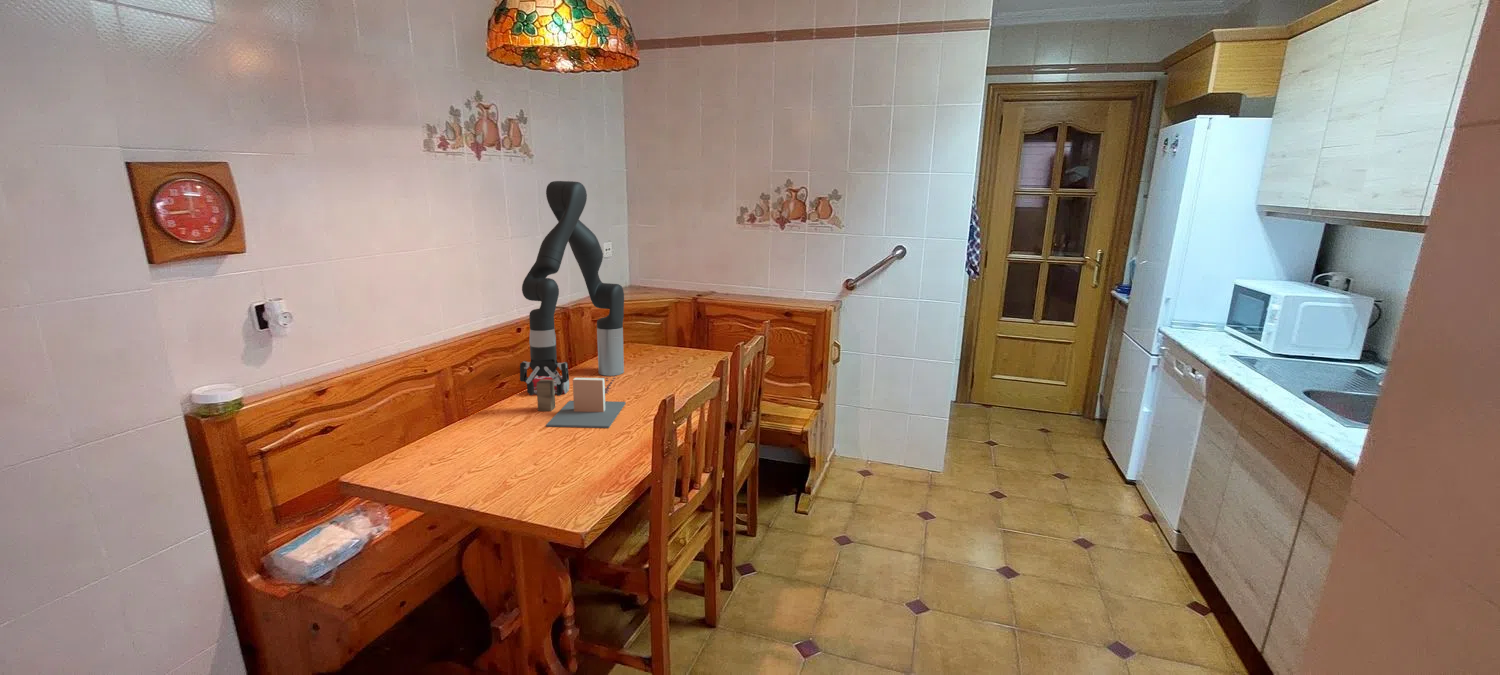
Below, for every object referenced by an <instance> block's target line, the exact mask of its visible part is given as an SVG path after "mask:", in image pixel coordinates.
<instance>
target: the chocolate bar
mask: <svg viewBox="0 0 1500 675" xmlns="http://www.w3.org/2000/svg"><path fill="white" fill-rule="evenodd" d="M609 377H613V378H612V379H611V381H610V382H609ZM615 379H616V375H614V376H608V377H605V382H609V384H608V385H607V386H606V387H605V394H609V392H610V390H611V389H612V388H611V386H612V384H613V382H614V381H615Z"/></svg>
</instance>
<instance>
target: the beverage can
mask: <svg viewBox="0 0 1500 675" xmlns="http://www.w3.org/2000/svg"><path fill="white" fill-rule="evenodd" d="M560 376H561V378H562V375H560ZM541 379H547V380H554V379H552V378H551V376H549V377H545V376H541V377H538V376H536V377H535V378H534V379H533V381H532V382H534V394H533V395H537V384H536V383H537V382H538V381H540V380H541ZM569 390H570V379H569V380H568V381H567V382H565V383H563V393H562V394H561V395H566V394H567V393H568V392H569ZM554 391H555V395H557V383H556V381H555V380H554Z"/></svg>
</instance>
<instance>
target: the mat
mask: <svg viewBox="0 0 1500 675" xmlns="http://www.w3.org/2000/svg"><path fill="white" fill-rule="evenodd" d="M625 405H626V401H612V400H611V401H606V400H605V411H604V412H580V411H574V400H569V401H567V403H566V404H565V405H563V406H562V408H560V409H559V411H558V412H557V413H556V414H554V416H553V417H552V418H551V419H550V420H549V421H548V422H546V423H545V427H547V428H549V427H551V428H584V429H586V428H587V429H588V428H589V429H590V428H591V429H595V428H597V429H609V428H610V427H611V425H612V424H613V423H614V421H615V420H616V418H617V417H618V415H619V414H620V413H621V411H622V410H623V408H624V407H625Z"/></svg>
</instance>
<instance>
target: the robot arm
mask: <svg viewBox="0 0 1500 675" xmlns="http://www.w3.org/2000/svg"><path fill="white" fill-rule="evenodd" d="M545 195H546V201H547V203H548V205H549V208H550V210H551V212H552V213H553V215H554V217H555V218H556V220H557V223H556V224H555V226H554V227H553V228H552V229H551V230H550V231H549V232H548V233H547V234H546V236H544V238H543V240H542V242H541V244H540V246H539V247H540V248H539V251H538V253H537V257H536V260H535V263H533V265H532V267H531V268H530V269H529V271H528V273H527V274H526V276H525V277H524V279H523V281H522V285H521V293H522V295H523V297H524V298H525V299H526V300H528V301H532V302H540V306H539V308H534V309H532V310H531V311H529V314H528V316H529V318H528V319H529V353H530V361H527V360H524V361H522V362H520V364H519V380H520V382H524V383H526V391H527V394H528V395H529V396H533V395H535V394H534V382H532V381H533V379H534V378H535V377H536V376H538V377H541V376H545V377H549V376H551V378H552V379H554V380H555V381H556V383H557V394H556V396H557V397H560V396H561V395H563V394H562V393H563V383H565V382H567V381H568V380H569V381H570V376H569V365H568V362H567V361H564V362H558V361H557V360H558V359H557V357H558V356H557V338H556V337H557V335H556V332H555V331H556V330H555V329H556V328H555V312H556V308H557V303H558V298H559V294H560V288H559V285H558V283H557V281H555V279H553V278H549V277H548V276H550V275H555V274H556V273H558V272H559V270H560V269H561V264H562V261H563V258H564V254H565V251H566V247H567V245H568V244H569V246H570V249H571V251H572V254H573V257H574V258H575V261H576V262H577V265H578V267H579V269H580V272H581V274H582V276H583V279H584V282H585V285H586V289H587V292H588V294H589V298H590V300H591V303H592V305H593V306H594V307H595V308H598V309H603V310H605V309H606V310H609V312H608V315H607V316H604V317H601V318H599V319H597V320H596V340H597V342H596V343H597V364H598V365H597V366H598V369H597V371H598V375H601V376H604V377H606V376H608V377H609V376H611V377H613V376H619V375H623V374H624V373H625V360H624V357H625V356H624V355H625V354H624V352H625V351H624V327H623V325H624V324H623V323H624V316H625V315H624V314H625V313H624V312H625V309H624V308H625V291H624V288H623V287H622V285H621V284H619V283H609V282H607V283H606V282H602V281H601V278H600V275H599V270H600V268H601V266H602V263H603V260H604V258H603V257H604V252H603V249H602V247H601V244H600V242H599V240H598V238H597V236H596V234H594V232H593V231H592V230H591V229H590V228H589V227H588V226H586V224H584V223H583V222H582V221H581V220H580V217H581V215H582V214H583V212H584V209H585V207H586V204H587V196H588V194H587V190H586V187H585V186H584V184H582V182H579V181H573V180H572V181H571V180H570V181H569V180H568V181H565V180H555V181H551V182H549V183H548V184H547V185H546V190H545ZM529 368H530V369H531V370H532V372H531V373H530V375H529V376H528V369H529ZM558 368H559V370H560V371H561V375H560V373H559V371H558V370H557V369H558ZM561 376H562V378H561Z"/></svg>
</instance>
